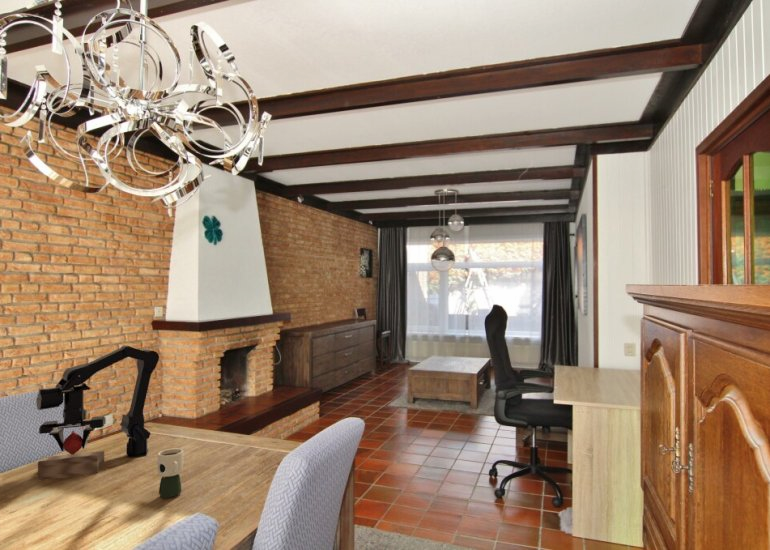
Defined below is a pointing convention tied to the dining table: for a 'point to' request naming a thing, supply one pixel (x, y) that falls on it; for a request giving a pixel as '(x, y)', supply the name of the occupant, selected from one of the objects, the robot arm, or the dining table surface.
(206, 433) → the dining table surface
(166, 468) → the character mug
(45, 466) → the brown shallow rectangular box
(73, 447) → the onion
